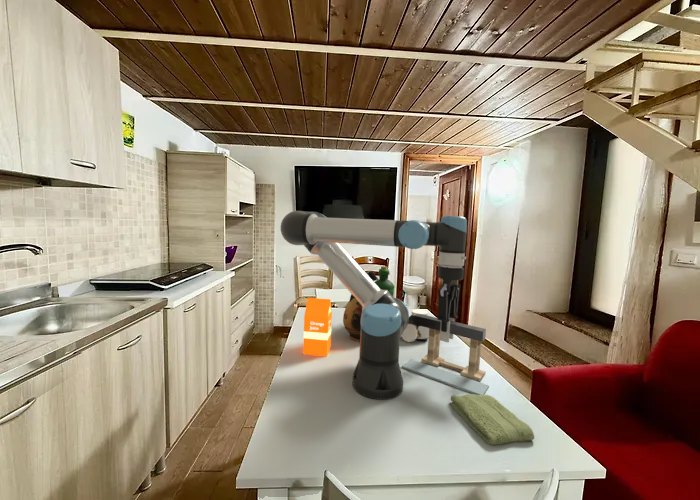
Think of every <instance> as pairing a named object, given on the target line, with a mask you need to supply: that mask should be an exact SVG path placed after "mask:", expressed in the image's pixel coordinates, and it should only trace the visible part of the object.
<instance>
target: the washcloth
mask: <svg viewBox="0 0 700 500" xmlns="http://www.w3.org/2000/svg"><path fill="white" fill-rule="evenodd" d="M450 400H451V403H450V406H451V408H452V409H453V410H454V411H456V413H458V415H459V416H461V418H462V419H463V421H464V422H466V423H467V424H468V425H469V426H470V427H471V428H472V429H473V430H474V431H475V432H476V433H477V434H478V435H479V436H480V437H481V438H482V439H483V440H484V441H485V442H486V443H487V444H488V445H491V446H495V445H500V444H509V443H511V442H527V441H529V442H530V441H533V440H535V434H534V432H533V428H531V426H530V425H529V424H528V423H526V422H525V421H523V420H522V419H520V418H519V417H518V416H517V415H516V414H515V413H513V412H512V411H511V410H510V409H508V408H507V407H505V406H504V405H503V404H502V403H501V401H499V400H498V399H496V398H495V397H494V396H493V395H492V396H491V395H489V394H484V395H475V394H472V393H465V394H463V395H456V394H452V395H451V396H450Z"/></svg>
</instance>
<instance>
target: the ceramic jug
mask: <svg viewBox="0 0 700 500" xmlns="http://www.w3.org/2000/svg"><path fill="white" fill-rule="evenodd" d="M361 268H362V269H363V270H364V271H365V272H366V270H365V269H364V268H363V267H361ZM366 273H367V275H368V276H369V277H370V278H371V279H372V280H373V281H374V282H375V281H377V280H378V279H379V277H378V276H377V275H376V274H375V273H374V272H373V271H368V272H366ZM361 315H362V305H361V304H360V303H359V302H358V301H357V299H356V298H355V297H354V296H353V295H352V294H351V293H350V297H349V301H348V303H347V304H346V307H345V308H344V311H343V317H342V323H343V327H344V329H345V331H347V333H348V338H349V339H351V340H353V341H355V342H357V341H358V342H360V331H361V323H360V321H361Z"/></svg>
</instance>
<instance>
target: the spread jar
mask: <svg viewBox="0 0 700 500" xmlns="http://www.w3.org/2000/svg"><path fill="white" fill-rule="evenodd" d="M416 314H422V315H427V316H429V312H428V311H427V310H424V309H417V308H416V309H412V310H411V314H410V315H409V321H408V325H407V327H406V329H405V330H404V332H403V334H402V335H401V338H402V339H403V341H405V342H408V343H411V342H414V341H417V342H424V341H426V340H428V339H429V328H427V327H423V326H419V325H415V324H413V320H414V315H416Z"/></svg>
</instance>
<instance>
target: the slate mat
mask: <svg viewBox="0 0 700 500" xmlns="http://www.w3.org/2000/svg"><path fill="white" fill-rule="evenodd" d="M401 368H402V369H404V370H407V371H410V372H412V373H414V374H415V373H416V374H418V375H421V376H423V377H426V378H429V379H432V380H434V381H438V382H439V383H442V384H444V385H448V386H451V387H454V388H456V389H459V390H461V391H464V392H467V393H469V394H474V395H486V392H487V391H488V390H489V388H490V385H489V384H485V383H484V382H483V383H482V382H481V381H478V380H475V379H472V378H469V377H466V376H463V375H461V374H460V375H459V374H456V373H454V372H451V371H448V370H444V369H441V368H438V367H436V366H433V365H430V364H427V363H424V362H422V361H418V360H416V359H412V358H410V360H408V361H406V362H405V363H404V364H402V365H401Z"/></svg>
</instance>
